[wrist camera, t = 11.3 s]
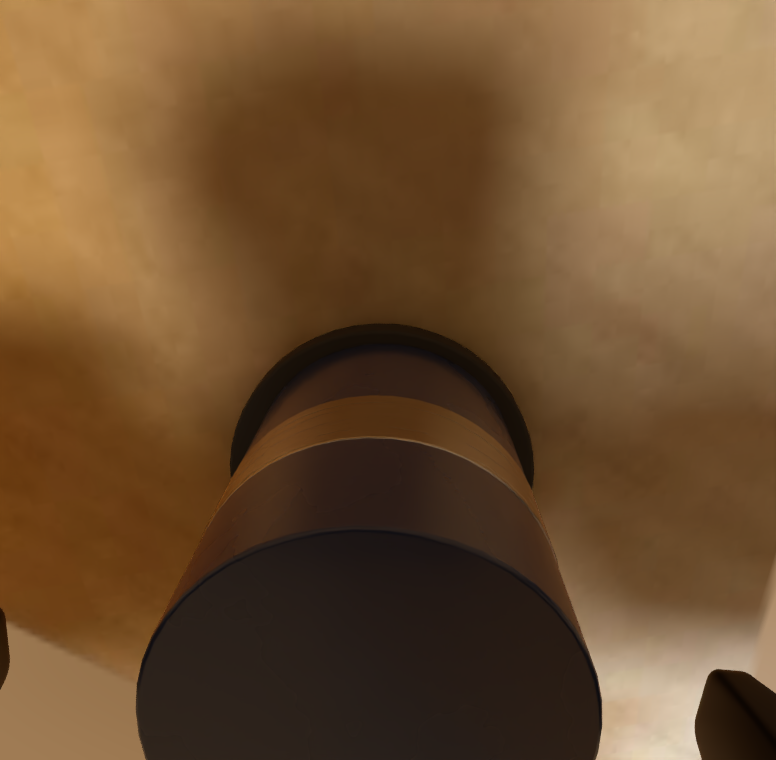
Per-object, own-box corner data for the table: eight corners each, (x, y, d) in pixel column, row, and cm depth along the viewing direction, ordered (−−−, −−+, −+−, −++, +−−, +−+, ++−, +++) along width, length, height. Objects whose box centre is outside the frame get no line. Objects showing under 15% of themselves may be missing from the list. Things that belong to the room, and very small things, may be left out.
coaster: (551, 337, 13) (558, 346, 13) (506, 601, 15) (510, 618, 15) (239, 309, 13) (231, 316, 13) (233, 576, 15) (226, 593, 15)
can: (532, 354, 13) (651, 549, 7) (495, 586, 14) (562, 916, 8) (259, 329, 13) (123, 502, 7) (252, 565, 14) (138, 881, 8)
